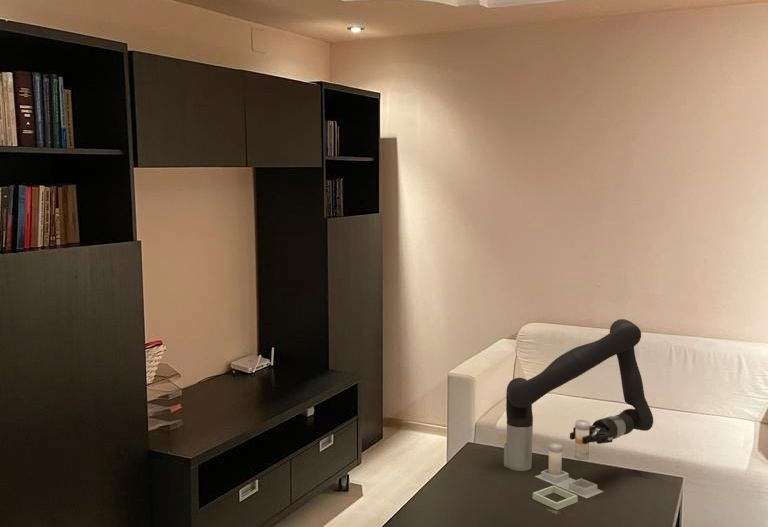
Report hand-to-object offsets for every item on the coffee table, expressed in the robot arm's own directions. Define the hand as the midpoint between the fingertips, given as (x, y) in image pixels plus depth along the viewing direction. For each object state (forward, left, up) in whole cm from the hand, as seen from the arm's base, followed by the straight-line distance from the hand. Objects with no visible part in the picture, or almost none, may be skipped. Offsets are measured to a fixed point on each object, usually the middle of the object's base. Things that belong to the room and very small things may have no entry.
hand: (577, 438), depth 237 cm
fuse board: (-4, +6, -20) cm, 21 cm away
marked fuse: (+1, +2, -7) cm, 8 cm away
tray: (-4, -9, -20) cm, 22 cm away
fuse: (-9, +9, -18) cm, 22 cm away
